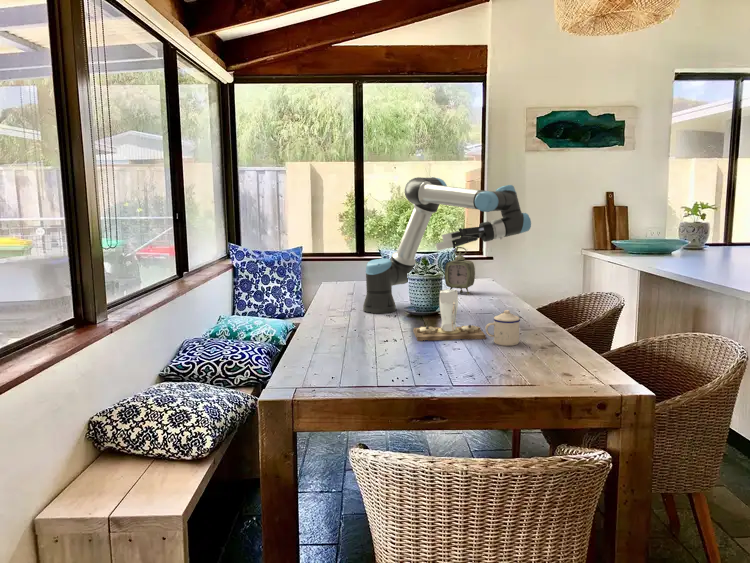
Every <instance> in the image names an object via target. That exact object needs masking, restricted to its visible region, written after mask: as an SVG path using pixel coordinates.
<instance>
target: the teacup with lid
mask: <svg viewBox="0 0 750 563" xmlns="http://www.w3.org/2000/svg"><path fill="white" fill-rule="evenodd" d="M520 321H521V319H520V317H519V315H518V316H517V315H515V314H514V313H511V312H510V310H509V309H505V310H504V311H503V312H502V313H500V314H499V315H495V316H494V317H493V322H489V323H487V324H486V325H485V327H484V328H485V333H486V334H487V335H488V336H489V337H492V338H493V342H494V343H495V345H499V346H503V347H504V346H505V347H511V346H516V345H517V346H518V344H519V342H520ZM490 326H493V331H494V332H493V334H492V333H490V332H489V330H488V329H489V327H490Z"/></svg>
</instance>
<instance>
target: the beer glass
mask: <svg viewBox="0 0 750 563" xmlns="http://www.w3.org/2000/svg"><path fill="white" fill-rule="evenodd" d="M458 295H459V294H458V290H457V289H449V288H448V289H447V288H446V289H440V290H439V297H438V298H439V299H438V304H439V312H440V317H441V325H440V327H441V331H444V332H454V331H457V327H458V326H457V315H458V314H457V313H458V308H459V298H458V297H459V296H458Z"/></svg>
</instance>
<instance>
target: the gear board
mask: <svg viewBox="0 0 750 563" xmlns="http://www.w3.org/2000/svg"><path fill="white" fill-rule="evenodd" d="M456 327H457V331H454V332H444V331H441V326H440V327H439V326H437V327H436V326H435V327H433V326H429V325H426V326H419V327H413V334H414V337H415V338H417V339H416V341H417V342H421V341H422V342H424V341H425V340H428V341H454V340H453V339H466V340H486V339H487V335H486V334H485V332H484V331H483V330H482V329H481V327H480V326H476V325H474V324H473V325H472V324H468V325H461V326H456ZM423 340H424V341H423Z"/></svg>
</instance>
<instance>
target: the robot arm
mask: <svg viewBox="0 0 750 563" xmlns="http://www.w3.org/2000/svg"><path fill="white" fill-rule="evenodd" d="M404 197H405V198H406V200H407V201H409V203H410V204H412V205H413V210H412V212H411V215H410V217H409V220H408V223H407V225H406V227H405V230H404V233H403V235H402V238H401V240H400V242H399V245H398V248H397V250H396V251H394V252H392V254H391V256H390V258H378V259H371V260H369V261H368V262H367V263H366V265H365V281H366V282H365V283H366V284H365V286H366V295H365V298H364V302H363V305H362V311H363V310H364V311H366V312H365V313H368V312H371V313H370V314H387V313H388V312H389V313H392V312H393V313H394V312H395V311H396V310H397V309H396V307H397V306H396V302H395V299H394V296H393V294H392V293H393V292H392V291H393V290H392V289H393V288H392V287H393V286H399V285H405V284H407V283H409V282H408V278H407V273H409V272H410V271H411V270H412V269H413V267H414V266H415V265H416V260H415V256H416V254H417V252H418V250H419V246H420V244H421V242H422V239H423V237H424V235H425V232H426V230H427V226H429V222H430V220H431V217H432V215H433V214H435V213H437V211H438V209H439V207H440V205H445V206H452V207H457V208H465V209H472V210H479V211H481V212H486V213H489V212H499V211H500V214H501V217H502V218H497V219H492V220H490V221H484V222H481V223H479V226H474V227H473V226H472V227H465V228H462V227H460V228H458V230H457V231H453V232H448V233H445V234H442V235H441V237H442V241H441V242H437V243H435V246H436V250H437V251H441V250H444V249H449V248H452V249H455V248H457V247H461V246H463V245H465V244H469V243H473V242H476V241H478V240H479V239H481V240H482V241H483V242H484V243H486V242H490V241H494V240H497V239H500V240H503V238H505V237H506V238H507V237H512V236H515V235H519V234H522V233H526V232H529V231H530V230H531V227H532V221H531V217H530V216H529V214H528V213H526V212H522V210H521V207H520V202H519V198H518V194H517V191H516V189H515V185H513V184H507V185H503V186H500V187H498V188H497V189H496V190H483V189H481V190H480V189H474V188H473V189H472V188H465V187H457V186H448V184H447V183H446V182H445V181H444V180H443V179H441V178H440V177H439V178H438V177H433V176H432V177H419V176H418V177H414V178H412V179H410V180H408V182H407V183H406V185H405V187H404ZM364 311H363V312H364ZM389 313H388V314H389Z"/></svg>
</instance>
